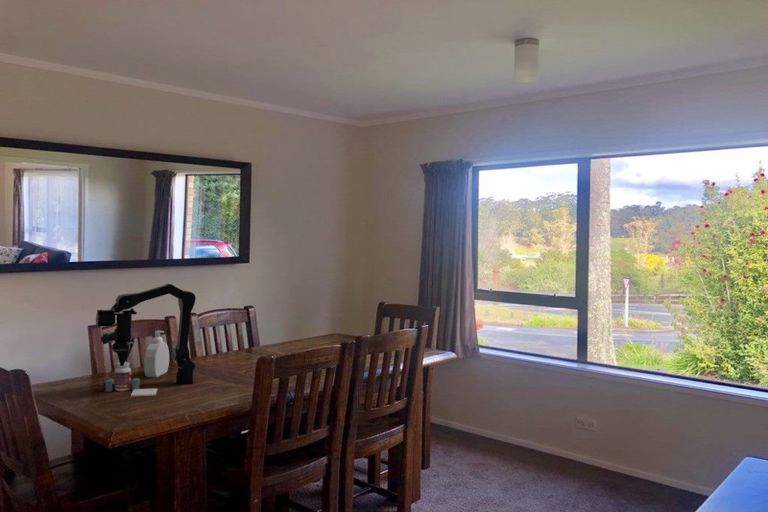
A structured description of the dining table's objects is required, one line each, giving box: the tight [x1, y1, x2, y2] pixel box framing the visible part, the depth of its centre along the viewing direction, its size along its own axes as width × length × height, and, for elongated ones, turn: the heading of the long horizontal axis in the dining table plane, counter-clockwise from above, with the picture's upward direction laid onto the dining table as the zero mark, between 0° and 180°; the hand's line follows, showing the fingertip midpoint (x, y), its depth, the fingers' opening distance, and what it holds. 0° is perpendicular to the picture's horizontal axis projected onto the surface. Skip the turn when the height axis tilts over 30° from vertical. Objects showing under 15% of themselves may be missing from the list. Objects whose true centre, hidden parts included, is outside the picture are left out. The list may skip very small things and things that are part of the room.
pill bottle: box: [114, 361, 132, 392], centre depth 245 cm, size 6×6×11 cm
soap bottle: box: [143, 330, 170, 378], centre depth 273 cm, size 16×5×20 cm, turn 177°
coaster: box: [130, 388, 158, 398], centre depth 241 cm, size 9×9×1 cm
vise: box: [98, 377, 141, 393], centre depth 246 cm, size 15×8×4 cm, turn 106°
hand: (123, 363), depth 245 cm, fingers open, 9 cm apart
